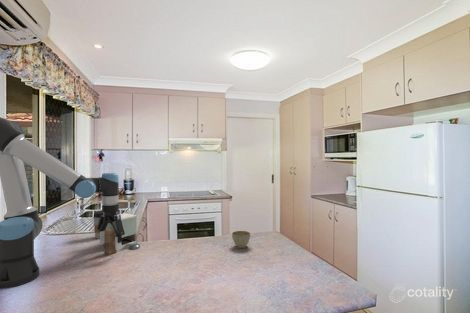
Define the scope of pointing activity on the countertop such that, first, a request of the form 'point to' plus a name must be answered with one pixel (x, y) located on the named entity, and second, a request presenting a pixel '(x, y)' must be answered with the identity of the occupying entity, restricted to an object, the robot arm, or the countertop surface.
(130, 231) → the pale green box
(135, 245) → the token
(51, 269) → the countertop surface
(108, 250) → the brown angled piece
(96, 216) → the coffee cup
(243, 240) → the flower pot
